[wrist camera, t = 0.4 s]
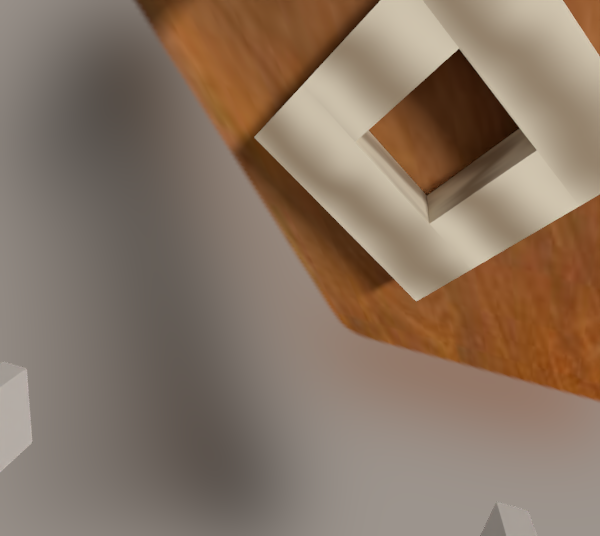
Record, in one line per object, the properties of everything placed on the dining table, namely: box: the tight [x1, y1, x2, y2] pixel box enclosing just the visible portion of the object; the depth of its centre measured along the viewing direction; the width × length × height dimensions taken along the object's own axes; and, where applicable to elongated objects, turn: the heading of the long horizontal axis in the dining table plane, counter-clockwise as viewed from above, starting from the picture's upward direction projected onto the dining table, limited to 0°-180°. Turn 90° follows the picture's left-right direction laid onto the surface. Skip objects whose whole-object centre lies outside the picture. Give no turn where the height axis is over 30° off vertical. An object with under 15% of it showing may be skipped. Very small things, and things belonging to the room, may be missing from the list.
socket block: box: [254, 0, 600, 301], centre depth 30 cm, size 18×18×5 cm
